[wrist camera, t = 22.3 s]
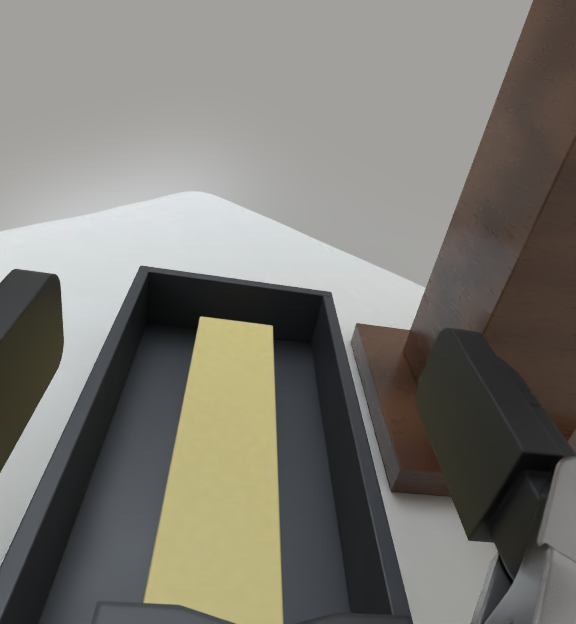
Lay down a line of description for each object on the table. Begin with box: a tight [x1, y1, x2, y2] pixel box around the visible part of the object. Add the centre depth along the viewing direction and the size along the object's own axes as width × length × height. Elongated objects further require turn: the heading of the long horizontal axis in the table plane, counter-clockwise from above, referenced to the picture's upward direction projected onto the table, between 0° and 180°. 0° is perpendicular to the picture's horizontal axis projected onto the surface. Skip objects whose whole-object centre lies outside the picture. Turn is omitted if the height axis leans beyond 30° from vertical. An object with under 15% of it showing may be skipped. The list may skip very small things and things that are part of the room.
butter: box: [143, 316, 283, 624], centre depth 18 cm, size 19×4×3 cm, turn 3°
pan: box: [0, 266, 413, 624], centre depth 19 cm, size 25×11×4 cm, turn 3°
